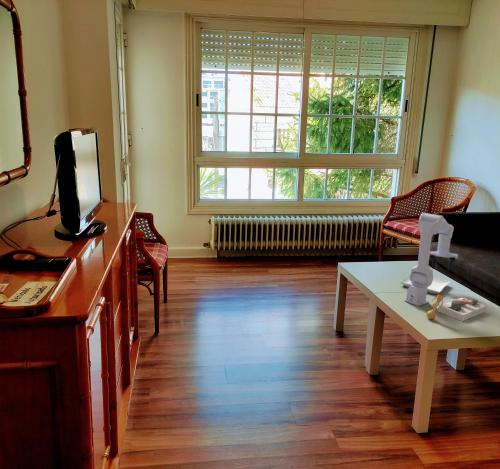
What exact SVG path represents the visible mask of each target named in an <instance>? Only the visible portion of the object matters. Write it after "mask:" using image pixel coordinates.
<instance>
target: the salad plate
mask: <svg viewBox="0 0 500 469" xmlns="http://www.w3.org/2000/svg"><path fill="white" fill-rule="evenodd" d="M409 276H410V273H409V274H408V275H407V276H405V277H404V278H403V279H401V280H400V281H399V282H400V284H401V285H403V286H405V287H407V288H409V287H411V286H412V284H411V281H410V279H409ZM450 283H451V281H449V280H446V279H442V278H438V277H436V276H433V281H432V284H431V285H430V286H428V288H427V293H430V294H435V295H436V294H437V295H438V294H440V293H441V292H442V291H443V290H444V289H445V288H446V287H447V286H448V285H449V284H450Z"/></svg>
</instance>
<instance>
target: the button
mask: <svg viewBox="0 0 500 469" xmlns="http://www.w3.org/2000/svg"><path fill="white" fill-rule="evenodd" d="M461 307H462V303H461V302H459V301H453V300H452V303H451V309H452V310H455V311H460V310H461Z"/></svg>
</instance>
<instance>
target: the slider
mask: <svg viewBox="0 0 500 469" xmlns="http://www.w3.org/2000/svg"><path fill="white" fill-rule="evenodd" d="M470 301H473V304H472V305H477V303H478V299H474V298H473V299H471V300H470Z"/></svg>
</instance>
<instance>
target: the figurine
mask: <svg viewBox="0 0 500 469" xmlns="http://www.w3.org/2000/svg"><path fill="white" fill-rule="evenodd" d="M431 301H432V302H433V301H435V302H434V303H432V309H430V310H428V311H427V312H426V317H427V318H428V319H429V320H434V319H435V318H436V317H437V313H436V311H437V307H438V308H439V307H440V308H441V305H442V304H444V296H443V295H440V293H438V294H437V296H435V297H434V298H433V299H432V300H431Z"/></svg>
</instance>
